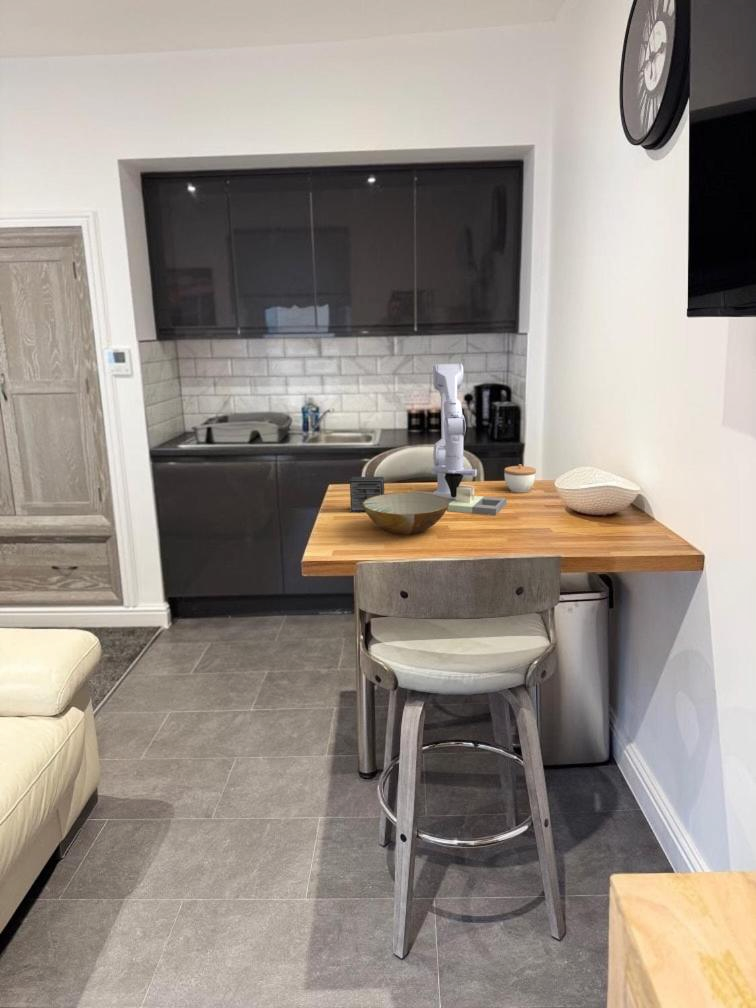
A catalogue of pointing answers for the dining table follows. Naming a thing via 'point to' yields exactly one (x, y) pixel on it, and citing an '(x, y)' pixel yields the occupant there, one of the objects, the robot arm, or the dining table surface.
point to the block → (465, 493)
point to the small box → (364, 490)
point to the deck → (473, 504)
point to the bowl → (405, 511)
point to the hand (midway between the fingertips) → (453, 496)
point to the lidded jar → (519, 478)
